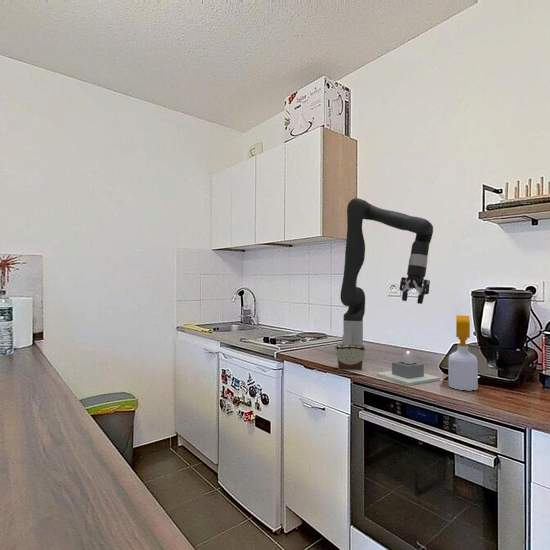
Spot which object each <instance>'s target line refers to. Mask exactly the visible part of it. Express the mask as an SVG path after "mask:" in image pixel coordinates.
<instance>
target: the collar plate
mask: <svg viewBox="0 0 550 550" xmlns="http://www.w3.org/2000/svg"><path fill="white" fill-rule="evenodd" d="M424 372H425V364H424V363H420V362H417V361H414V365H405V364H403V360H398V361H392V362H391V370H388V371H387V370H386V371H381V372H376V376H377V377H380V378H383V379H387V380H389V381H393V382H395V383H399V384H403V385H405V386H414V385H420V384H428V383H432V382H433V381H434V382H438V381H439V380H440V381H441V377H439V376H435V375H432V374H428V373H424ZM434 382H433V383H434Z"/></svg>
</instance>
